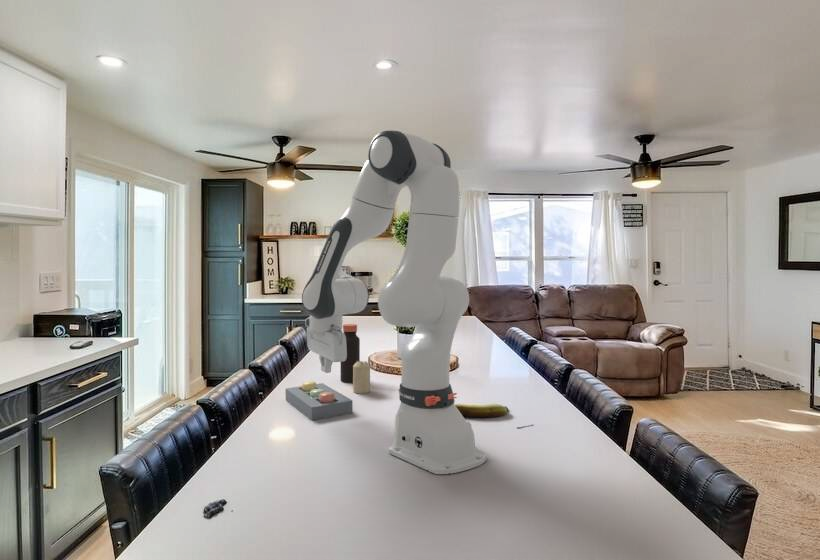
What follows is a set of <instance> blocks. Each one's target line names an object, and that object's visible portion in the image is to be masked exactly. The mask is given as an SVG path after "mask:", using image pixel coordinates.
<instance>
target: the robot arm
mask: <svg viewBox="0 0 820 560" xmlns="http://www.w3.org/2000/svg"><path fill="white" fill-rule="evenodd" d="M367 157H368V158H367V160H366V161H365V163H364V165H363V167H361V168H362V169H361V171H360V173H359V175H358V177H357V179H356V183H355V185H354V189H353V191H352V196H351V199H350V202H349V204H348V207H347V209H346V210H345V211H344V214H343V215H342V216H340V218H339V219H337V220H336V221H335V223H334V224H333V225H332V227H331V229H330V232H329V233H328V235H327V238H326V240H325V243H324V245H323V248H322V250H321V253H320V255H319V258H318V260H317V263H316V264H315V267H314V269H313V271H312V273H311V276H310V278H309V279H308V281H307V283H306V284H305V286H304V289H303V290H302V294H301V303H302V305H303V308H304V310H305V311H306V312H307V314H309V317H307V318H305V320H304V321H305V322H304V323H305V324H304V325H305V327H306V344H307V348H308V350H309V351H310V352H312V353H315V354H316V355H318V357H319V358H318V359H319V362H320V370H321V372H323V373H326V374H329V373H330V374H331V372H332V365H333V363H341V362H342V361H345V360H346V358H347V346H346V337H345V334H344V331H343V330H342V329H343V315H345V316H346V315H350V314H356V313H360V312H363V311H364V310H365V309H366V307H367V306H368V303H369V299H370V292H369V288H368V286H367V284H366V282H364V281H363V280H362V279H360V278H357V277H354V276H353V275H352V276H351V275H350V274H348V273H347V272H345V271H344V270H343V268H342V266H343V263H344V261H345V259H346V256H347V255H348V253H349V252H350V251H351V250H352V249H353V248H354V247H356V246H358V245H359V244H361V243H363V242H366V241H368V240H371V239H374V238H376V237H378V236H380V235H382V234H383V233H384V232H386V230H387V229H388V227H389V225H390V224H391V221H392V219H393V216H394V212H395V208H396V205H397V201H398V197H399V195H400V192H401V190H403V188H405V187H407V188H408V190H409V191H410V207H409V214H408V216H409V217H408V226H407V234H406V242H405V248H404V251H403V255H402V257H401V260H400V263H399V265H398V267H397V269H396V271H395V272H394V274H393V276H391V278H390V279H389V281H388V282H386V283H385V284H384V285H383V286H382V288H381V289H380V292H379V294H378V299H377V307H378V310H379V314H380V316H381V317H382V319H383V320H384V321H385V322H386V323H387V324H390V325H392V326H396V327H404V328H412V327H413V328H414V330H413V332H412V335H411V337H410V338H409V340H408V342H406V344H405V345H404V347H403V348H402V352H401V382H400V383H399V388H398V389H399V390H398V393H399V396H398V397H399V401H400V405H399V407H398V409H397V412H396V414H395V419H394V429H393V430H394V431H393V441H392V444H391V445H390V446H389V449H388V453H389V454H390V455H393V456H395V457H396V458H398V459H401V460H403V461H405V462H408V463H410V464H411V465H415V466H417V467H419V468H421V469H423V470H425V471H427V470H428V471H427V472H430V473H432V474H435V475H449V473H450V474H456V473H461V472H464V471H467V470H471V469H474V468H476V467H479V466H481V465H482V464H484V463H485V462H486V461H487V454H486V453H485V452H483V450H481V449H479V448H478V447H476V441H475V434H474V429H473V428H472V424H471V422H470V421H469V420H466V418H464V417H463V416H462V414H461V413H460V411H459V410H458V409H457V407H456V406H455V405H456V404H455V403H456V402H455V401H456V400H455V399H457V398H458V397H457V396H456V395H457V394H458V393H457V392H454V391H453V387H452V385H451V383H450V370H451V369H450V368H451V367H450V365H451V350H452V345H453V340H454V337H455V334H456V331H457V328H458V324H459V322H460V320H461V318H462V317H463V315H465V313H466V311H467V310H468V307H469V304H470V294H469V290H468V288H467V286H466V285H465V284H464V283H463V282H462V281H460V280H458V279H455V278H452V277H449V276H446V275H445V276H442V275H441V274H442V271H443V269H444V266H445V265H446V263H447V262H448V261H449V259H450V258H451V257H452V256H454V254H455V252H456V245H457V235H458V227H459V225H458V224H459V213H460V187H459V185H460V184H459V178H458V175H457V173H456V172H455V171H454V170H453V169H451V163H452V161H451V158H450V156H449V154H448V153H447V151H446V150H445V149H444V148H443V147H441V146H440V145H438V144H436V143H432V142H430V141H428V140H425V139H424V138H422V137H421V136H418V135H417V136H416V135H414V134H409V133H404V132H401V131H400V130H383V131H380V132H379V133H377V134H376V135H375V136H374V137H373V139H372V140H371V143H370V144H369V148H368V155H367Z"/></svg>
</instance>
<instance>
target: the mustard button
mask: <svg viewBox="0 0 820 560" xmlns="http://www.w3.org/2000/svg"><path fill="white" fill-rule="evenodd" d="M316 384H317V382H315V381H310V380H309V381H304V382H302V383H301V386H302V391H304V392H306V391H311V390H314V389H316Z"/></svg>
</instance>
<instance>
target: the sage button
mask: <svg viewBox="0 0 820 560" xmlns="http://www.w3.org/2000/svg"><path fill="white" fill-rule="evenodd" d="M323 392H325V390H323V389H314V390H311V391H310V396H311V397H312V398H313V397H319V394H320V393H323Z"/></svg>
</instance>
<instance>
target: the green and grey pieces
mask: <svg viewBox="0 0 820 560" xmlns="http://www.w3.org/2000/svg"><path fill="white" fill-rule="evenodd" d="M455 406H456V407H457V409H458V410H459V411H460V413H461V414H462V416H463V417H464V418H465V419H489V418H490V419H491V418H499V417H503V416H505V415H506V414H507V413H508V412H509V408H508V406H505V405H502V404H498V403H490V404H489V403H487V404H462V403H461V404H460V403H456V404H455ZM530 426H532V424H531V425H529V427H530ZM525 427H527V425H524V426H517V427H516V429H517V430H518V429H519V430H521V429H522V428H525Z"/></svg>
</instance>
